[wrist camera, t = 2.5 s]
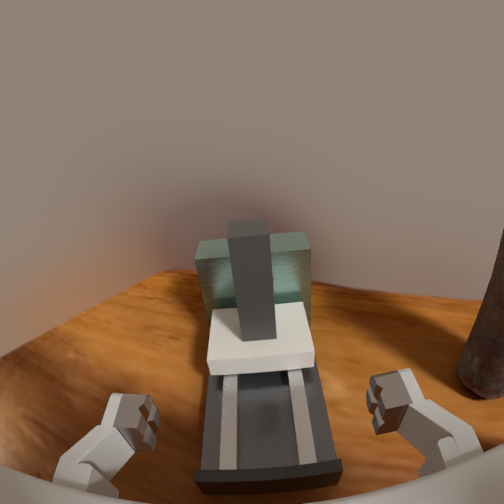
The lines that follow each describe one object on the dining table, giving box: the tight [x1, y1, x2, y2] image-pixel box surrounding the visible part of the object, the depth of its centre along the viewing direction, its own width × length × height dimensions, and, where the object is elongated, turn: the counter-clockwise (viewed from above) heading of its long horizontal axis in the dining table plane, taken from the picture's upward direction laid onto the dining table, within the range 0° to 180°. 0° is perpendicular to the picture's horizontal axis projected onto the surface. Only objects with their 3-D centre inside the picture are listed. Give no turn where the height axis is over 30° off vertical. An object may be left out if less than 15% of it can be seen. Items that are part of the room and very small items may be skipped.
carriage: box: [207, 218, 315, 375], centre depth 27 cm, size 9×7×12 cm
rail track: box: [194, 231, 343, 495], centre depth 27 cm, size 11×22×10 cm, turn 1°
